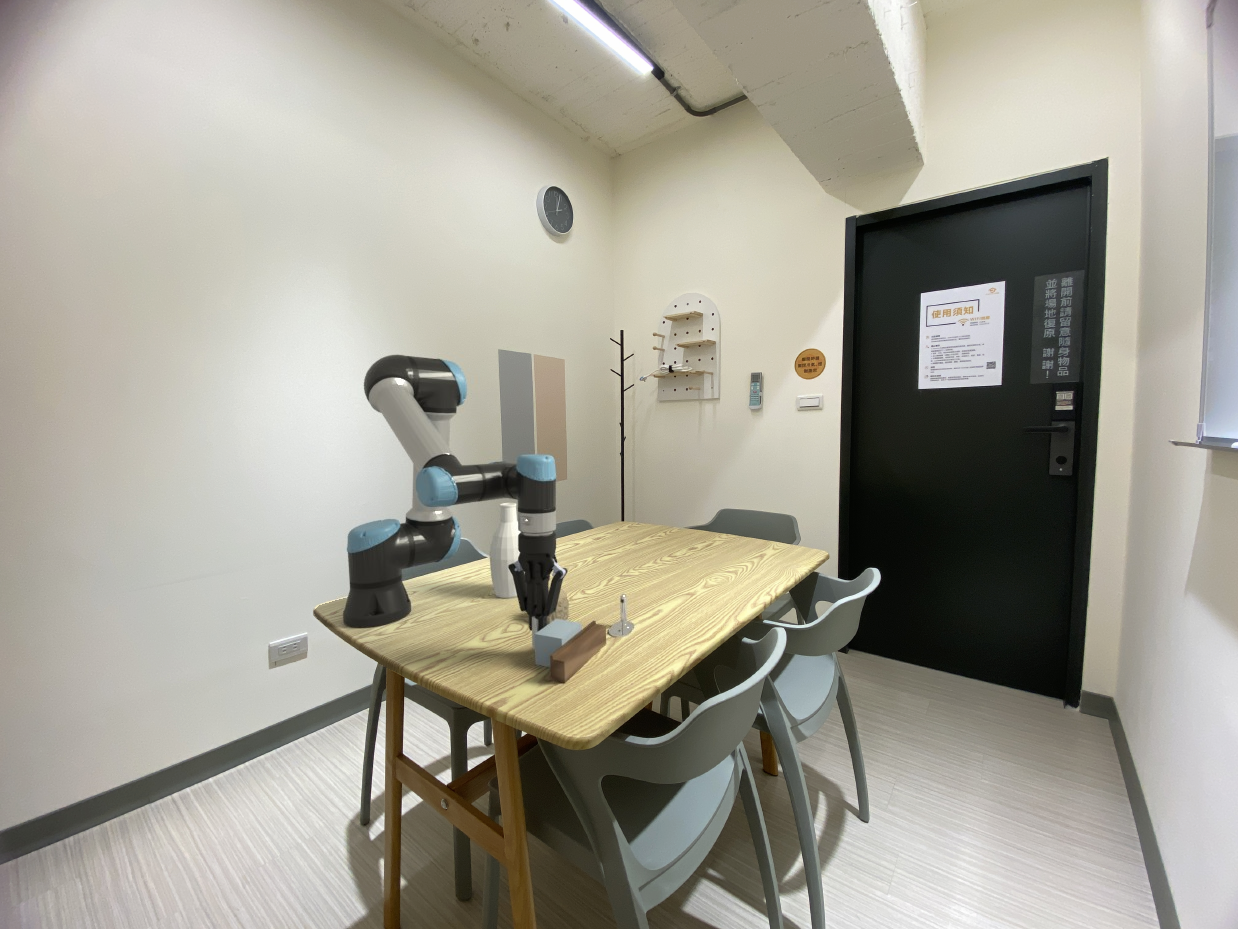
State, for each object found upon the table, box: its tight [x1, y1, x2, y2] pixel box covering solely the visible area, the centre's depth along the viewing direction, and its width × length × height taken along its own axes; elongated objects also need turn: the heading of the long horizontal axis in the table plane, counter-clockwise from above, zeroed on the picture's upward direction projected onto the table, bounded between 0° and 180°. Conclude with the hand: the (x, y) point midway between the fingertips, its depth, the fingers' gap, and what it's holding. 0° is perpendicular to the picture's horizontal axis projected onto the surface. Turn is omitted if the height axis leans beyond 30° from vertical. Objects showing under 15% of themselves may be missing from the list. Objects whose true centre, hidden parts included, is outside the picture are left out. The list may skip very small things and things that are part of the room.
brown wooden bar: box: [549, 620, 607, 684], centre depth 92 cm, size 3×17×5 cm, turn 156°
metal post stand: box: [608, 593, 635, 638], centre depth 106 cm, size 8×5×8 cm
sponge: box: [547, 586, 570, 625], centre depth 114 cm, size 9×10×10 cm
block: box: [534, 619, 583, 668], centre depth 93 cm, size 6×8×6 cm
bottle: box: [489, 502, 525, 599], centre depth 132 cm, size 11×11×25 cm
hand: (538, 646), depth 96 cm, fingers closed
